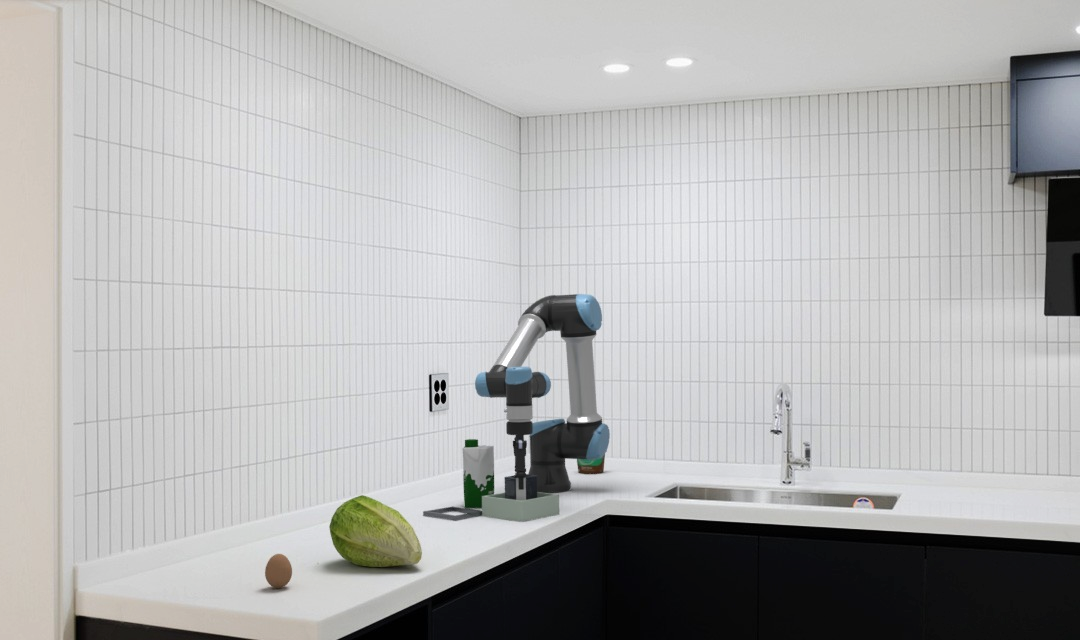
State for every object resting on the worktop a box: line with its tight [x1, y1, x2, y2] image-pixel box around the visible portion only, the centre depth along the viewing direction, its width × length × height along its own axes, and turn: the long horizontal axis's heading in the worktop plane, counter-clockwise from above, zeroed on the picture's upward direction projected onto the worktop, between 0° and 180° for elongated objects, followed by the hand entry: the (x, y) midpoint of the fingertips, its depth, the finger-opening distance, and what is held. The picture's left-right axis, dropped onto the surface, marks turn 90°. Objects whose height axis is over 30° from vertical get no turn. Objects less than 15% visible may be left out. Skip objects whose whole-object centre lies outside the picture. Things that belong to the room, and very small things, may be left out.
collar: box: [422, 505, 483, 522], centre depth 303 cm, size 12×14×1 cm
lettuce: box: [329, 494, 423, 568], centre depth 238 cm, size 15×25×16 cm
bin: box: [481, 491, 560, 522], centre depth 302 cm, size 16×16×6 cm
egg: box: [264, 553, 293, 589], centre depth 217 cm, size 5×5×7 cm
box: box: [504, 473, 537, 500], centre depth 302 cm, size 8×6×11 cm
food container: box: [576, 450, 608, 475], centre depth 391 cm, size 12×6×10 cm, turn 81°
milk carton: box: [461, 438, 495, 509], centre depth 319 cm, size 9×9×20 cm
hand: (520, 497), depth 302 cm, fingers open, 11 cm apart
